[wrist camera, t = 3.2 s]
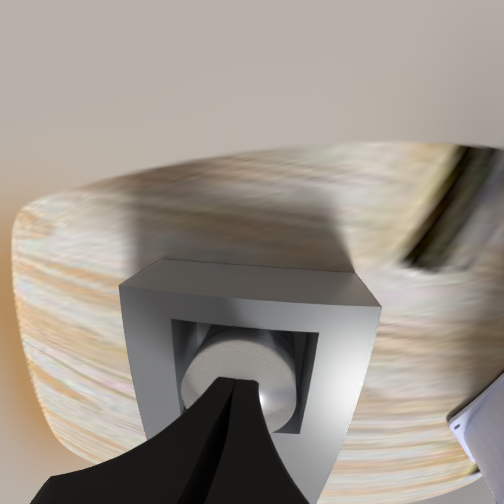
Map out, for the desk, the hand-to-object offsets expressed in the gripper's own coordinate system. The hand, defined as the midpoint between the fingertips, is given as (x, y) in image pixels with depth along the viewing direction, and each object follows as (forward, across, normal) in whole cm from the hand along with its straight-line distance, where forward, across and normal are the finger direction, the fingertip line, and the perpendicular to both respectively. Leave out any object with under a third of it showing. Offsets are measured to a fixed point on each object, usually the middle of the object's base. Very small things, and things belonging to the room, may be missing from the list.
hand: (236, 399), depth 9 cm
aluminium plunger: (+4, 0, 0) cm, 4 cm away
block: (+5, 0, +4) cm, 7 cm away
